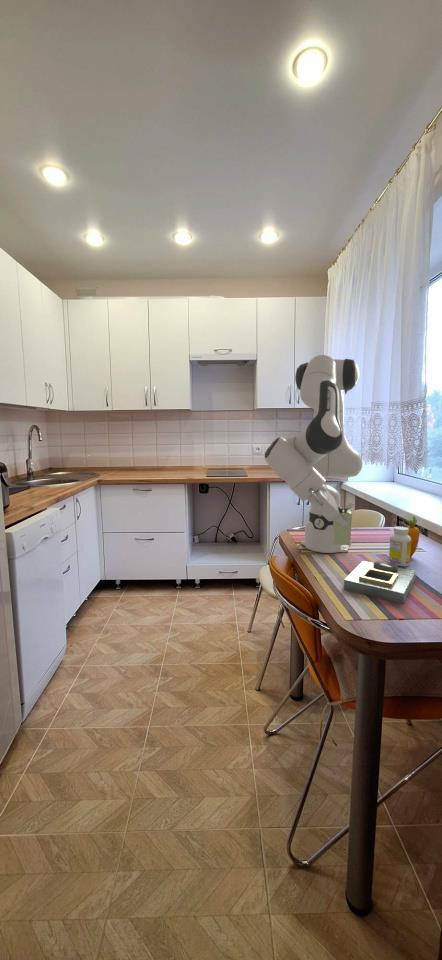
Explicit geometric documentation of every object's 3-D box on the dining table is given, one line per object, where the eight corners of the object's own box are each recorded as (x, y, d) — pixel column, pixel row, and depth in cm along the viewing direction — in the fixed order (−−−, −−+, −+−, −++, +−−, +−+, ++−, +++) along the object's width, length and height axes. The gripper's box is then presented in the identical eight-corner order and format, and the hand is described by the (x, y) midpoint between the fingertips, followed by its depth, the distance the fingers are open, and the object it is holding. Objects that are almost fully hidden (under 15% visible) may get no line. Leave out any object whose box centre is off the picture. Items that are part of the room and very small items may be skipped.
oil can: (332, 539, 110) (334, 500, 108) (351, 541, 109) (353, 500, 107) (333, 544, 106) (335, 503, 104) (353, 545, 105) (355, 504, 103)
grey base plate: (364, 567, 130) (365, 554, 129) (416, 577, 121) (417, 564, 120) (343, 589, 112) (344, 574, 111) (403, 603, 103) (404, 588, 102)
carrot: (409, 559, 137) (412, 519, 135) (399, 555, 142) (402, 516, 140) (420, 558, 139) (423, 518, 137) (410, 554, 143) (413, 515, 141)
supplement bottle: (405, 560, 136) (407, 525, 135) (412, 567, 130) (415, 530, 128) (385, 560, 137) (388, 525, 135) (392, 566, 131) (394, 530, 129)
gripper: (319, 484, 96) (358, 524, 95) (317, 474, 116) (349, 507, 115) (300, 501, 98) (338, 540, 97) (302, 488, 118) (333, 520, 117)
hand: (344, 522), depth 106 cm, fingers closed on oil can, 4 cm apart
